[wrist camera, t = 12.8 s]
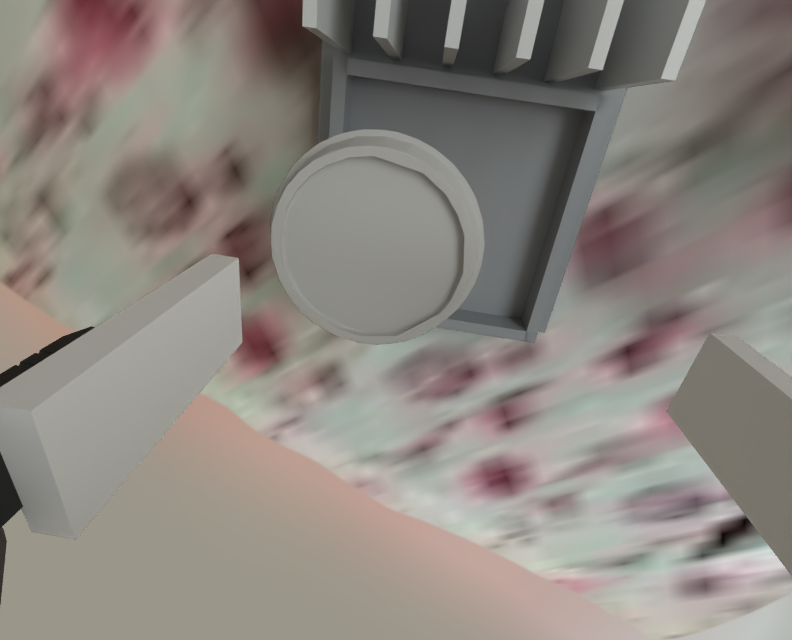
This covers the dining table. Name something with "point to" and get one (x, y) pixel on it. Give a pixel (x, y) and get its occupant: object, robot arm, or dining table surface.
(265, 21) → the dining table surface
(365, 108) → the dish rack
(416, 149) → the disposable coffee cup
